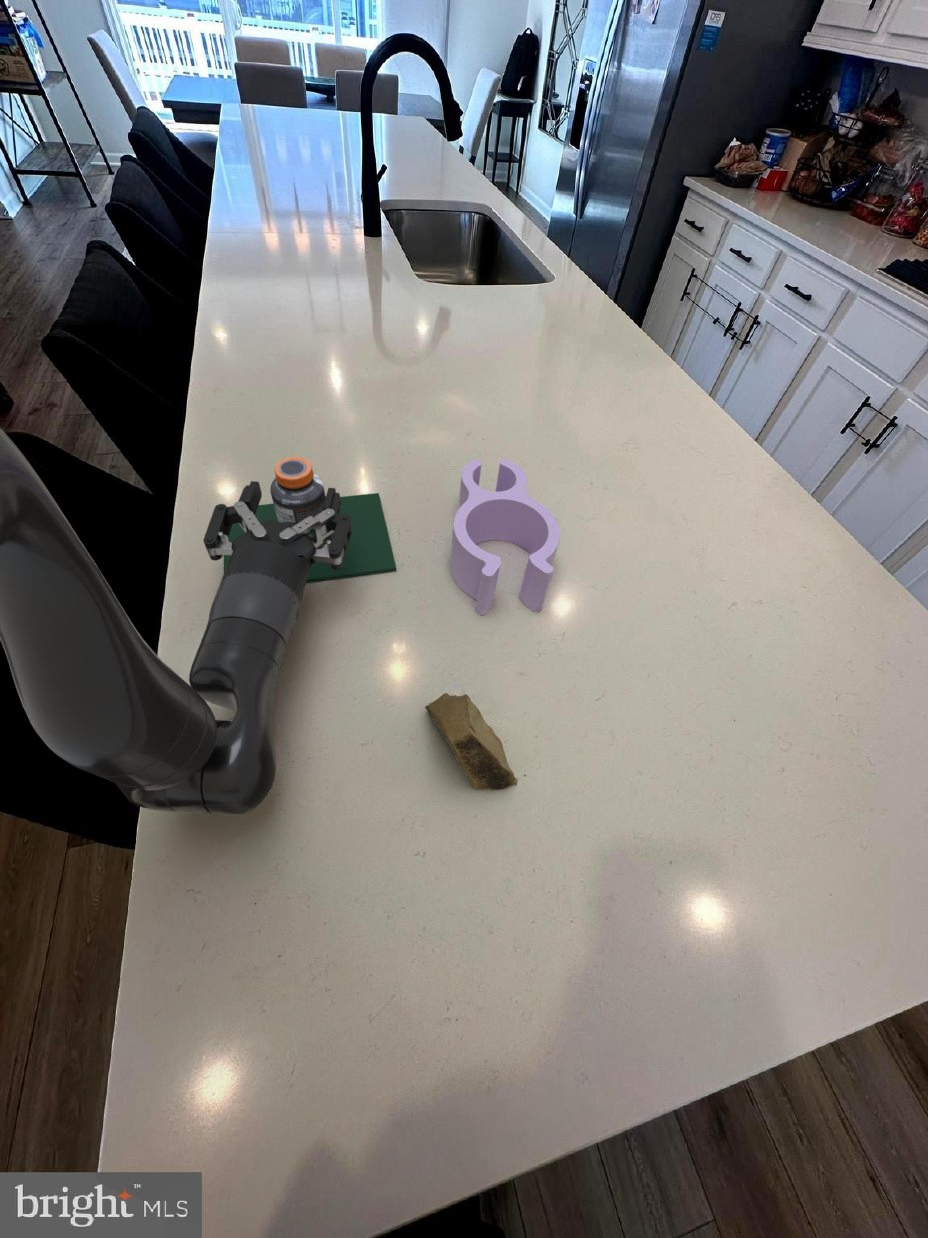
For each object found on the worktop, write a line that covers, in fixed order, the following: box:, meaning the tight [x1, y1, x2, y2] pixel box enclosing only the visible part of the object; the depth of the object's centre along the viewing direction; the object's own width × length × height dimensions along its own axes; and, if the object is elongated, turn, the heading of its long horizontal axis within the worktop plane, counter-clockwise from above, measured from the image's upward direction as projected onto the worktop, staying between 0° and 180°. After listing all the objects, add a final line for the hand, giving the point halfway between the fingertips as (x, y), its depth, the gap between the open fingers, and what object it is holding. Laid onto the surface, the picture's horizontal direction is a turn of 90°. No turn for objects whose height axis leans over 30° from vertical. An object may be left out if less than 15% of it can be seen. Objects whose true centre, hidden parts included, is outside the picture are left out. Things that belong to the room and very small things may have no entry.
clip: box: [449, 458, 561, 616], centre depth 69 cm, size 20×12×7 cm, turn 8°
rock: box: [424, 692, 518, 791], centre depth 53 cm, size 11×9×10 cm
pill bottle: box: [269, 456, 332, 549], centre depth 65 cm, size 6×6×11 cm
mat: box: [223, 492, 397, 584], centre depth 70 cm, size 20×14×1 cm
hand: (295, 490), depth 63 cm, fingers open, 8 cm apart
